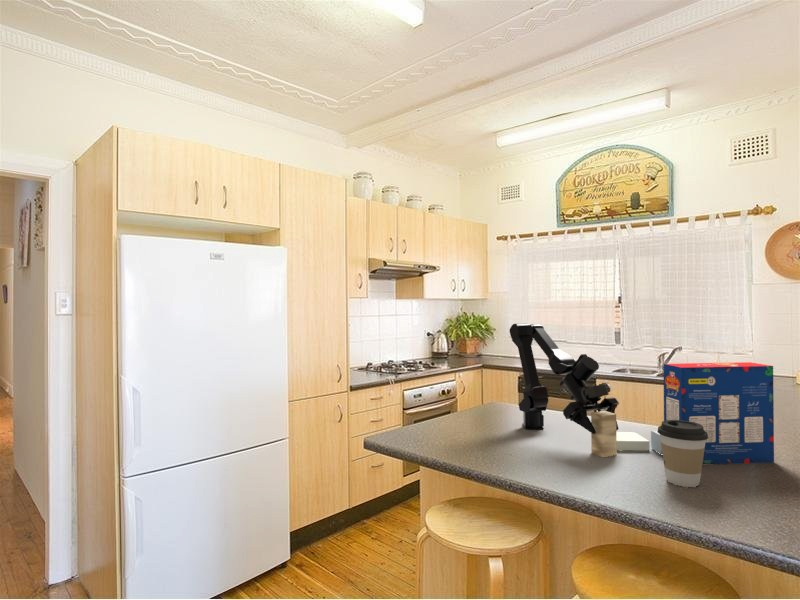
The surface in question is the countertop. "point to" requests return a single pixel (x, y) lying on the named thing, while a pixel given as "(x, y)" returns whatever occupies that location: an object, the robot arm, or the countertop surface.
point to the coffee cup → (682, 451)
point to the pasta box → (725, 408)
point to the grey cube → (656, 442)
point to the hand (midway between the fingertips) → (606, 431)
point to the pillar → (603, 434)
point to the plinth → (631, 441)
